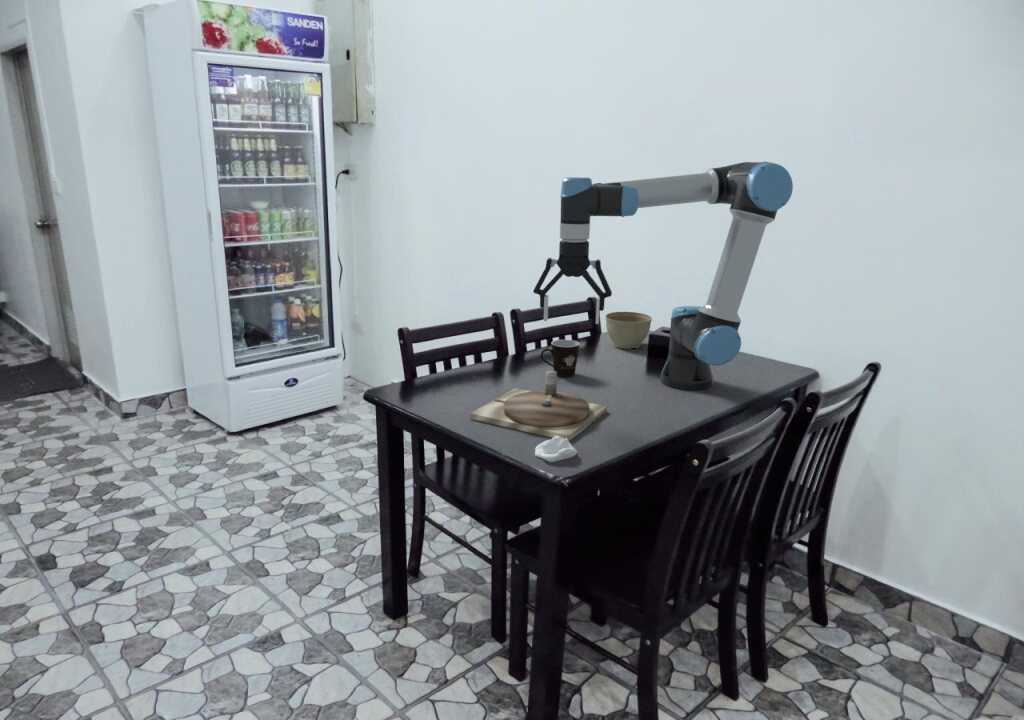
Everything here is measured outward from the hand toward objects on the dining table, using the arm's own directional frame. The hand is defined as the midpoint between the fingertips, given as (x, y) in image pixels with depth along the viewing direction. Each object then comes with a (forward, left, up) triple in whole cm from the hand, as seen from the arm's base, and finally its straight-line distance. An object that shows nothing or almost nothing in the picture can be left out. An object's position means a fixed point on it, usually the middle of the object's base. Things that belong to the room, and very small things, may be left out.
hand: (571, 321), depth 179 cm
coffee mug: (+14, -22, -23) cm, 35 cm away
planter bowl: (+8, -64, -23) cm, 69 cm away
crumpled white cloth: (-12, +31, -24) cm, 41 cm away
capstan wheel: (+1, +12, -22) cm, 25 cm away
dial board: (+3, +12, -23) cm, 26 cm away
